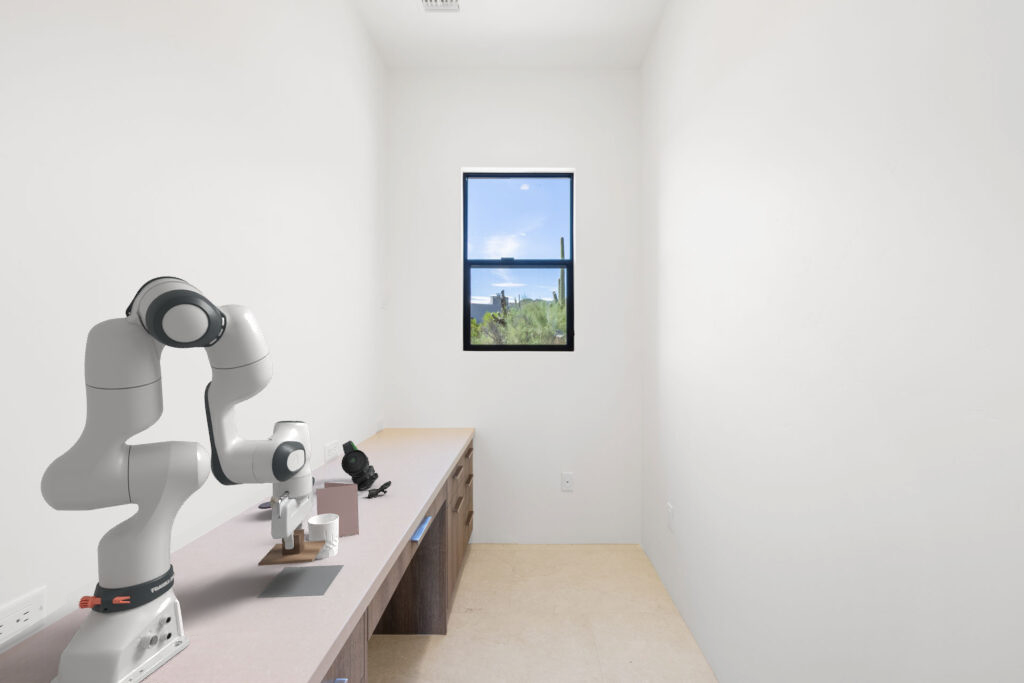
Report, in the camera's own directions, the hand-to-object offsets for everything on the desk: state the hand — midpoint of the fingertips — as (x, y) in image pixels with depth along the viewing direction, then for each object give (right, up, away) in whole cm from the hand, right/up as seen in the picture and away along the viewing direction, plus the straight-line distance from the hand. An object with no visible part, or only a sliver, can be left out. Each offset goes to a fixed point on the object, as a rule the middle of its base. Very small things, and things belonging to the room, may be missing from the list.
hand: (293, 543), depth 122 cm
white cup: (+2, -9, +14) cm, 17 cm away
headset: (-4, -8, +74) cm, 74 cm away
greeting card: (+1, -9, +27) cm, 28 cm away
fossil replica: (-23, -9, +48) cm, 54 cm away
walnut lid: (0, -2, 0) cm, 2 cm away
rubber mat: (+3, -9, -1) cm, 9 cm away
